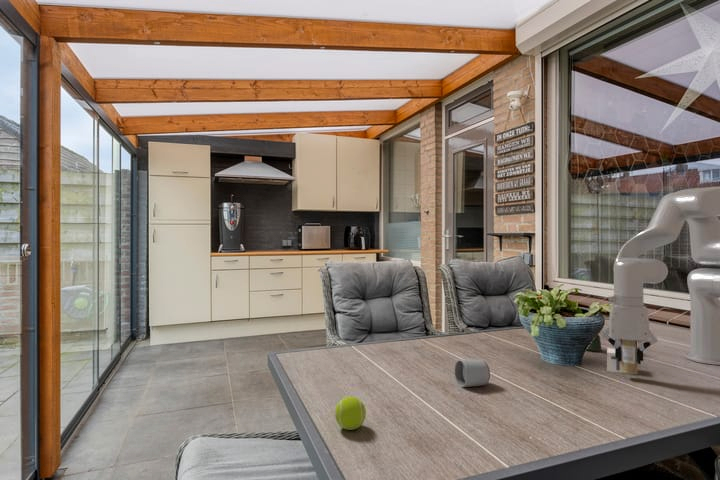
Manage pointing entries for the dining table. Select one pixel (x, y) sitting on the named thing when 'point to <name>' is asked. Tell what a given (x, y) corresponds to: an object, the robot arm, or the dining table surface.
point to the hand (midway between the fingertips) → (629, 361)
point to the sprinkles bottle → (629, 357)
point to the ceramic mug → (471, 373)
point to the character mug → (596, 343)
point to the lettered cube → (613, 361)
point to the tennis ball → (350, 413)
